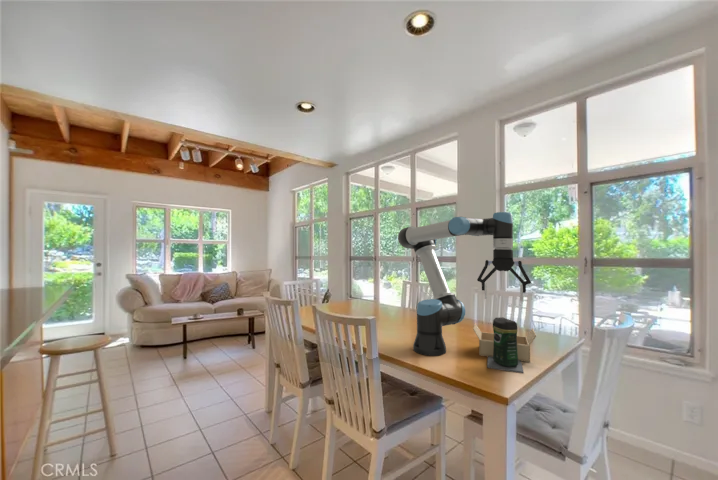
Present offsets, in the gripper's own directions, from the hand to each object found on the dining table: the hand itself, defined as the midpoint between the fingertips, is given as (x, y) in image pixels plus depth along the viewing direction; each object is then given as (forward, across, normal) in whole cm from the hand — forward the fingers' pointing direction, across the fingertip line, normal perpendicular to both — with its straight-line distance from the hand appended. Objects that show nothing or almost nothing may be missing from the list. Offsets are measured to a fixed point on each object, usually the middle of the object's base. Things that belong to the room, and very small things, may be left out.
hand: (503, 299), depth 127 cm
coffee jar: (+27, +1, 0) cm, 27 cm away
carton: (+27, 0, +15) cm, 31 cm away
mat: (+27, 0, 0) cm, 27 cm away
